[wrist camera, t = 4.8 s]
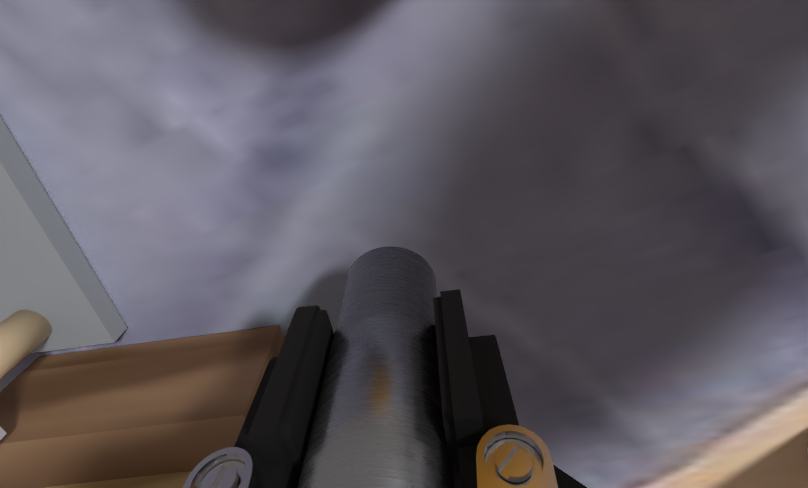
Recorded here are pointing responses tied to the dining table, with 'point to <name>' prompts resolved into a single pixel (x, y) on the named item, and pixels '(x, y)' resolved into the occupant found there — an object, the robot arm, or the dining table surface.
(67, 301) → the peg rack
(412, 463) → the pin
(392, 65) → the dining table surface
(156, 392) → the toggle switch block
